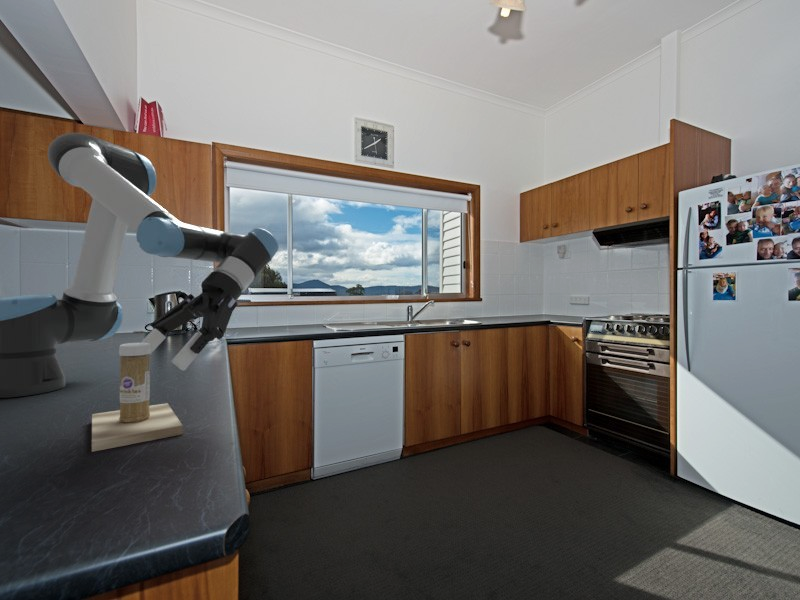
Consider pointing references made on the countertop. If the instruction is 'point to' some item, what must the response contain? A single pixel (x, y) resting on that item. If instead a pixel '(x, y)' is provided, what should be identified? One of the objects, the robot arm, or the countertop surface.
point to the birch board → (133, 428)
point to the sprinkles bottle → (134, 381)
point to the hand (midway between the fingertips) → (155, 362)
